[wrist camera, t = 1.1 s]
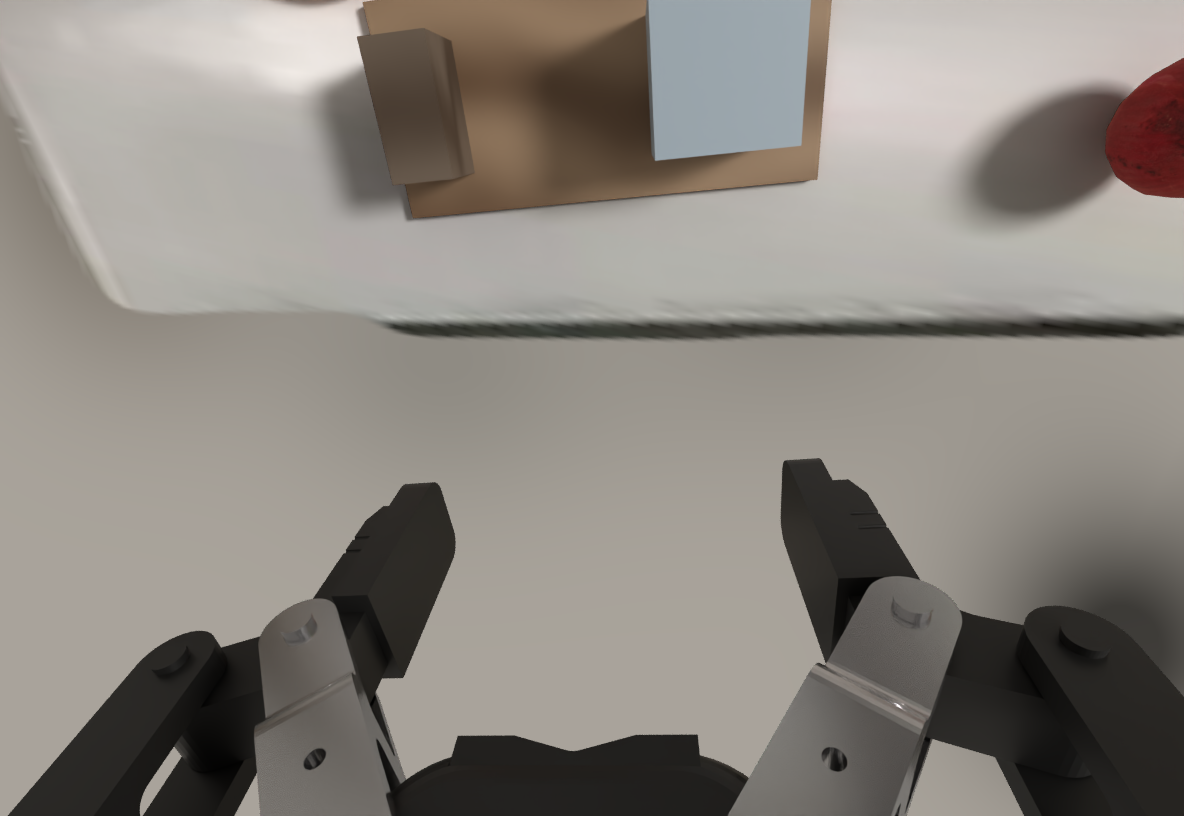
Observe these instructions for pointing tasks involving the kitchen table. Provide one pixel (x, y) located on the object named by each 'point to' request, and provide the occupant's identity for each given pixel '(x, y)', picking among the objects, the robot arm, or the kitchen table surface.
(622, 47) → the walnut strip
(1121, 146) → the pomegranate
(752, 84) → the slate cube
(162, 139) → the kitchen table surface
